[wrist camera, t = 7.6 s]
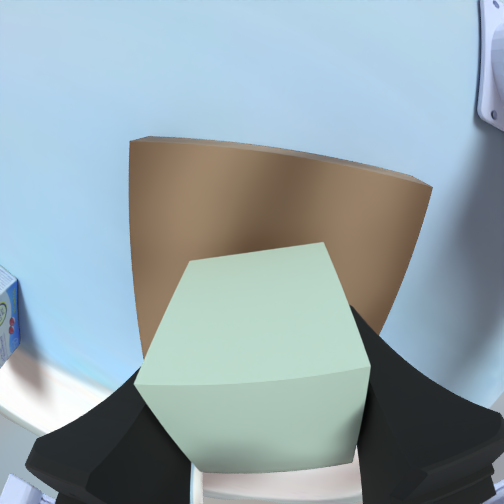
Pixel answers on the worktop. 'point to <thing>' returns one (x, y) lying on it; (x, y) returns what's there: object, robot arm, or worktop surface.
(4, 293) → the medicine box
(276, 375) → the sage block
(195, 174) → the walnut base
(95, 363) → the worktop surface
